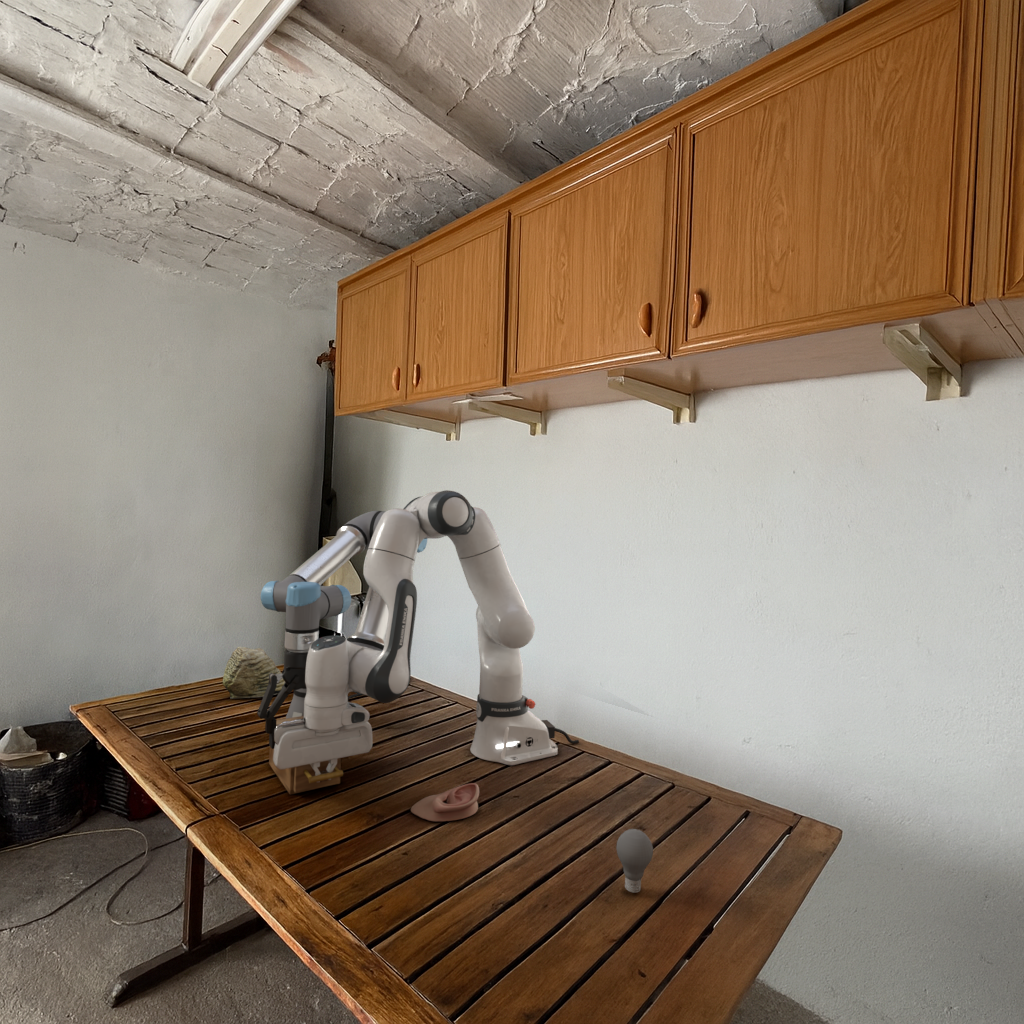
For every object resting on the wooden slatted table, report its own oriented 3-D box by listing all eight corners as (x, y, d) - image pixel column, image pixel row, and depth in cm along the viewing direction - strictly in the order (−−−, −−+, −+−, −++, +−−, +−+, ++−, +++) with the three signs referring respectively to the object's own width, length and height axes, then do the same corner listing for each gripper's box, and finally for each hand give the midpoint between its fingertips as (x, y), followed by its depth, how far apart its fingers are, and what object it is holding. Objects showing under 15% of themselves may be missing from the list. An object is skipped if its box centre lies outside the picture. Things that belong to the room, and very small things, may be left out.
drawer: (348, 792, 134) (350, 753, 134) (302, 803, 129) (304, 762, 128) (316, 756, 152) (317, 721, 152) (274, 764, 146) (276, 728, 146)
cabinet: (339, 783, 140) (341, 737, 140) (289, 794, 134) (291, 746, 134) (315, 755, 155) (316, 713, 154) (268, 764, 148) (270, 720, 148)
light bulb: (610, 879, 108) (613, 822, 108) (644, 879, 109) (647, 822, 109) (619, 902, 102) (622, 840, 102) (655, 901, 103) (658, 840, 103)
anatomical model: (405, 797, 126) (424, 773, 137) (404, 817, 126) (424, 792, 138) (469, 807, 124) (484, 782, 135) (468, 827, 124) (483, 800, 135)
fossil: (218, 695, 195) (220, 647, 195) (278, 685, 208) (279, 640, 207) (228, 703, 189) (230, 653, 188) (289, 692, 201) (290, 645, 201)
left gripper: (252, 657, 138) (248, 757, 139) (355, 647, 152) (351, 738, 152) (244, 650, 144) (241, 745, 145) (344, 641, 158) (340, 728, 158)
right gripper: (278, 728, 124) (275, 797, 125) (376, 712, 136) (374, 775, 136) (270, 718, 130) (267, 785, 130) (365, 703, 141) (363, 765, 141)
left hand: (297, 742), depth 148 cm, fingers closed on cabinet, 11 cm apart
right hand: (323, 780), depth 133 cm, fingers closed
